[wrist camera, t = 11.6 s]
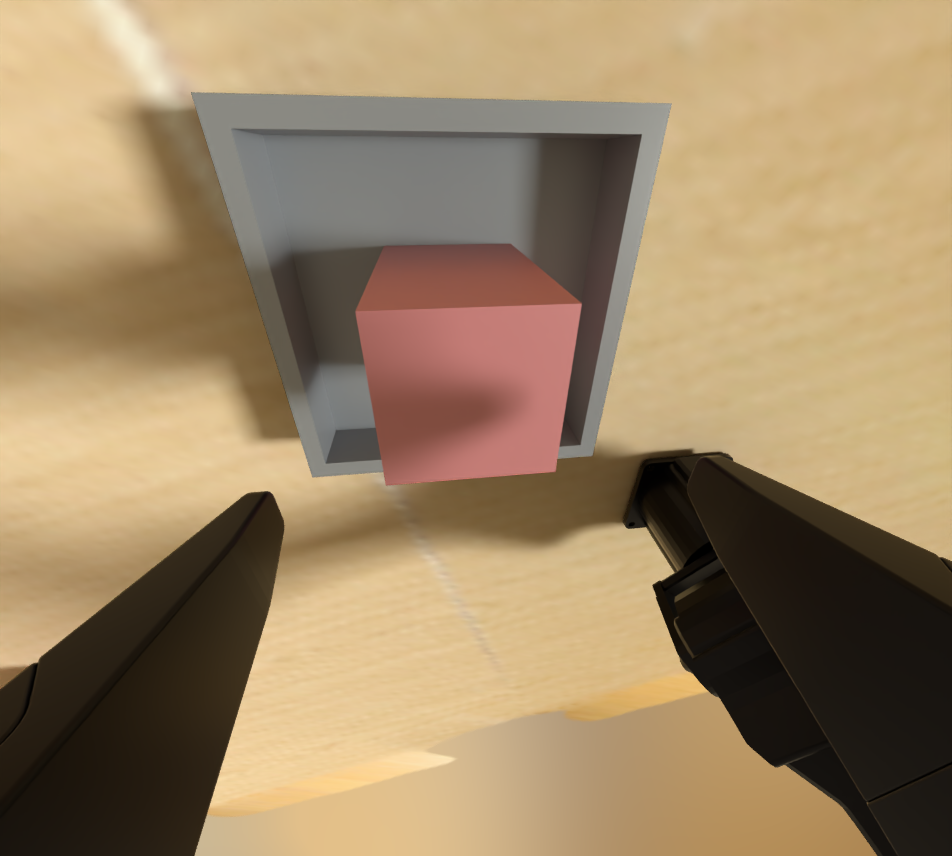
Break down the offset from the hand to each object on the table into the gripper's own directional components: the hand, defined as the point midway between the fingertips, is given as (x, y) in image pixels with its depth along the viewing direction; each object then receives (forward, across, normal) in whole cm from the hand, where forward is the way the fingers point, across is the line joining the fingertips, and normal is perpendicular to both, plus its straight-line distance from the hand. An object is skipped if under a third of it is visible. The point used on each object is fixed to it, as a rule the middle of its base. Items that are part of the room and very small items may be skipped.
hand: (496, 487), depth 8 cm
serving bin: (+13, 0, 0) cm, 13 cm away
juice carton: (+12, 0, 0) cm, 12 cm away
